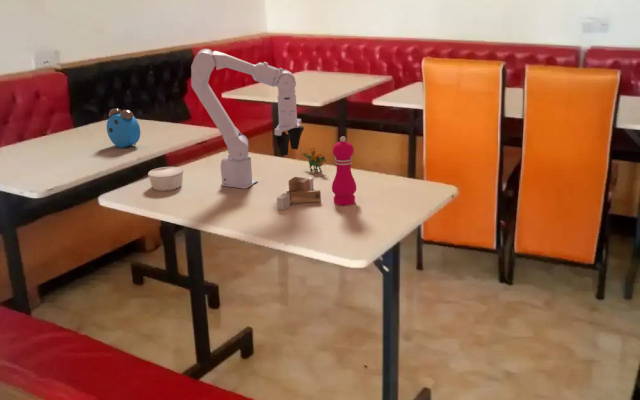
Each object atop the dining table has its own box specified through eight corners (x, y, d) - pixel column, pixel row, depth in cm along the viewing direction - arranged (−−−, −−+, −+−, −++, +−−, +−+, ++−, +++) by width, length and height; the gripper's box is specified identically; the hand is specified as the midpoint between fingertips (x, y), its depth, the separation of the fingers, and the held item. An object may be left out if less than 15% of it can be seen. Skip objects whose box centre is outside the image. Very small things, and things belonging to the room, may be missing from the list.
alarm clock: (142, 146, 267) (138, 109, 262) (131, 150, 262) (125, 112, 257) (120, 142, 274) (115, 106, 268) (108, 146, 269) (102, 109, 264)
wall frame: (277, 209, 196) (276, 196, 194) (307, 187, 213) (307, 176, 211) (283, 209, 195) (282, 197, 194) (313, 188, 212) (313, 176, 211)
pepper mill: (349, 207, 195) (347, 140, 188) (327, 203, 198) (325, 138, 191) (361, 200, 200) (360, 134, 194) (340, 196, 204) (338, 132, 197)
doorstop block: (289, 199, 203) (288, 180, 201) (295, 195, 207) (294, 176, 205) (304, 201, 201) (303, 182, 199) (310, 197, 205) (309, 178, 202)
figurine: (322, 175, 224) (321, 151, 222) (299, 167, 233) (297, 145, 230) (329, 172, 226) (328, 149, 224) (305, 165, 235) (304, 143, 232)
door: (291, 202, 200) (290, 192, 199) (320, 200, 201) (319, 189, 200) (291, 204, 198) (291, 194, 197) (321, 202, 200) (320, 191, 198)
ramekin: (172, 179, 226) (170, 164, 225) (191, 186, 219) (189, 170, 217) (143, 187, 219) (141, 172, 217) (161, 194, 212) (159, 179, 210)
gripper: (288, 116, 203) (290, 159, 208) (309, 106, 216) (310, 147, 220) (267, 114, 206) (270, 157, 211) (289, 104, 219) (291, 145, 223)
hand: (289, 151), depth 216 cm, fingers open, 7 cm apart
